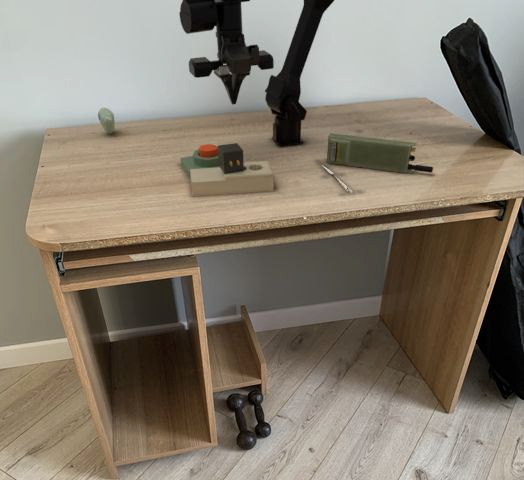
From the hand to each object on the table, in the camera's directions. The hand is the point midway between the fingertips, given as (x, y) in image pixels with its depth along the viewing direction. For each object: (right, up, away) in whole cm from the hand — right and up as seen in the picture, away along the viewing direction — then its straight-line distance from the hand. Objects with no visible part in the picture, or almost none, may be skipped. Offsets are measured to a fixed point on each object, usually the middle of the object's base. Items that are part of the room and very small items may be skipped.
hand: (233, 104), depth 121 cm
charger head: (0, -19, -10) cm, 21 cm away
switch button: (-6, -13, -1) cm, 14 cm away
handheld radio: (+35, -16, 0) cm, 38 cm away
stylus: (+23, -19, -3) cm, 30 cm away
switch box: (-6, -15, +1) cm, 16 cm away
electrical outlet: (0, -22, -7) cm, 23 cm away
